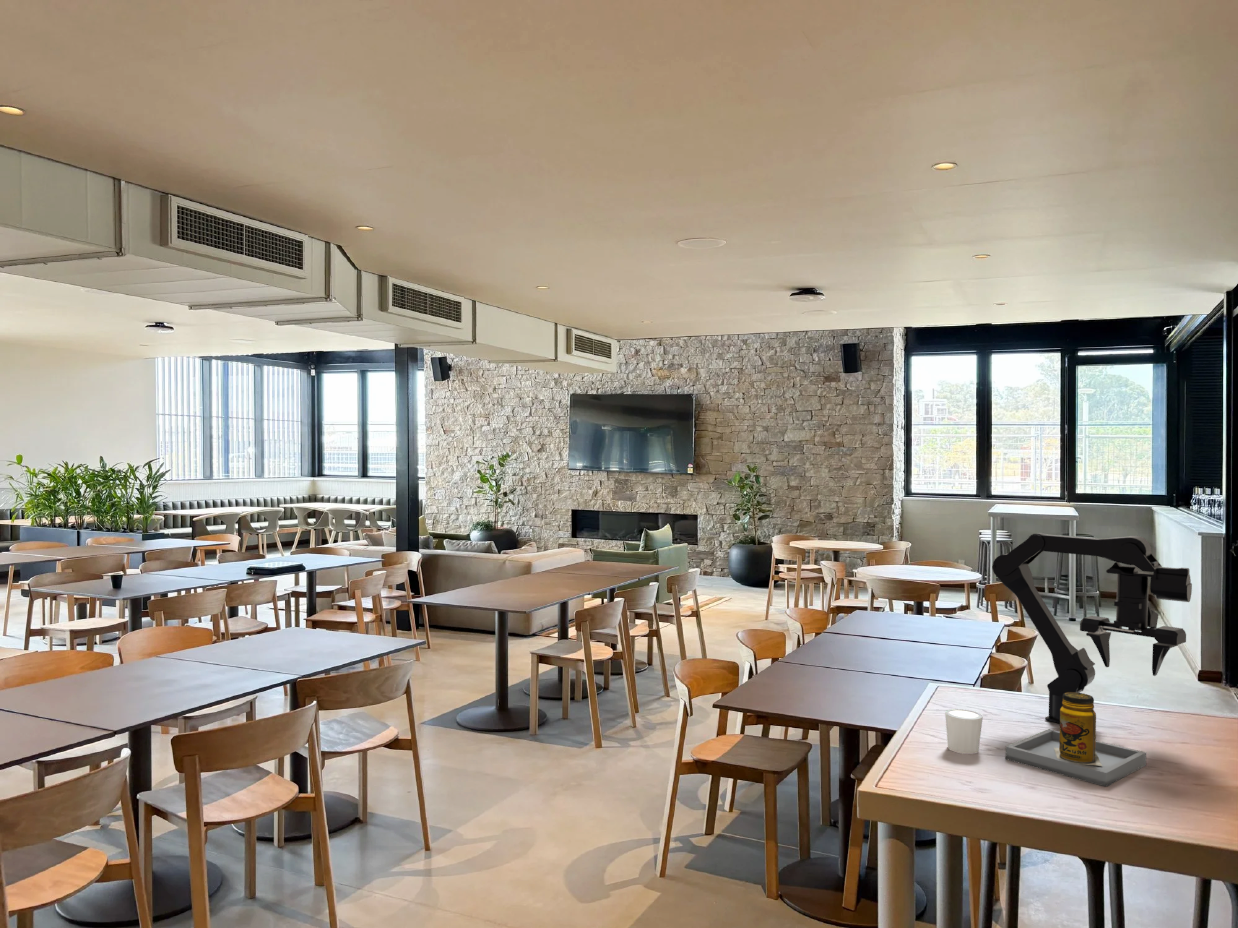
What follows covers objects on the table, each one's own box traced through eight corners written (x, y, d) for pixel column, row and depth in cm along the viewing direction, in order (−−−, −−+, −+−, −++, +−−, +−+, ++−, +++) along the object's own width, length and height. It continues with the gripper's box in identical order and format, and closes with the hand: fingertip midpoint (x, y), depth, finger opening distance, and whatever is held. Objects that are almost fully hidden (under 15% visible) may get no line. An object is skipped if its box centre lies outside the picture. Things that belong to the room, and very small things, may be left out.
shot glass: (964, 756, 172) (965, 720, 172) (936, 746, 178) (937, 710, 178) (989, 751, 175) (990, 715, 175) (961, 741, 181) (962, 706, 181)
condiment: (1058, 761, 168) (1059, 697, 167) (1053, 748, 176) (1055, 686, 175) (1102, 767, 165) (1104, 701, 165) (1095, 753, 173) (1097, 690, 173)
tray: (1005, 758, 171) (1005, 746, 171) (1048, 740, 183) (1049, 728, 183) (1105, 786, 157) (1106, 772, 157) (1145, 765, 169) (1146, 752, 169)
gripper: (1196, 598, 187) (1194, 674, 187) (1101, 587, 201) (1099, 657, 201) (1176, 604, 180) (1174, 682, 180) (1079, 592, 194) (1078, 664, 194)
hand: (1130, 671), depth 189 cm, fingers open, 9 cm apart
